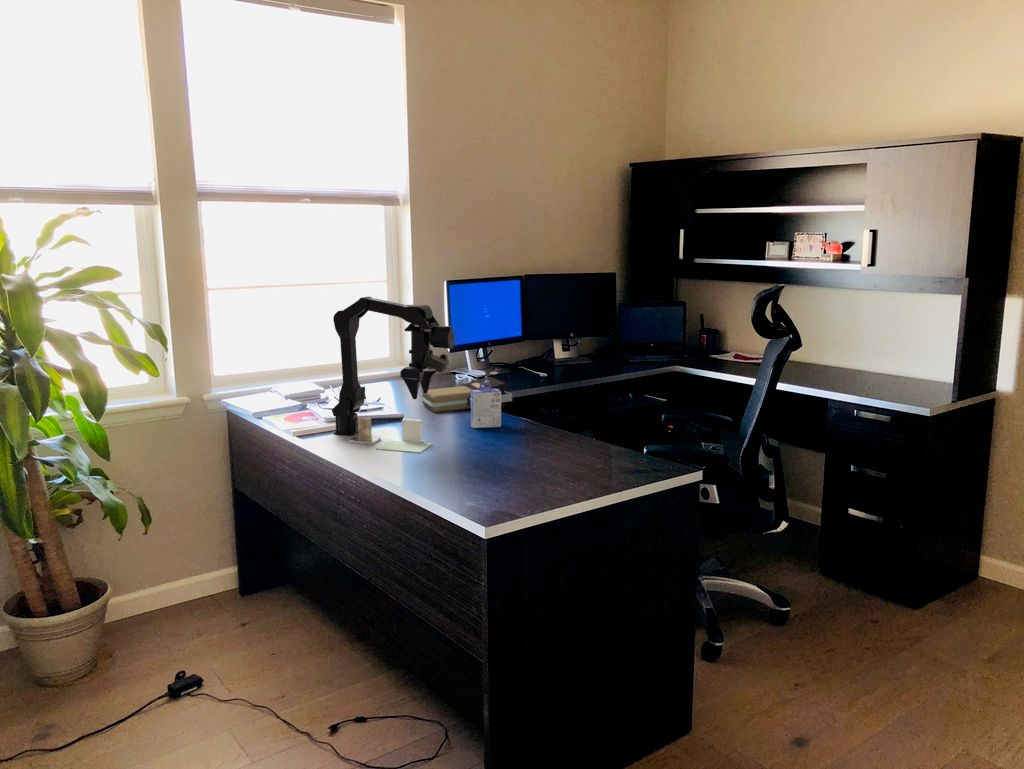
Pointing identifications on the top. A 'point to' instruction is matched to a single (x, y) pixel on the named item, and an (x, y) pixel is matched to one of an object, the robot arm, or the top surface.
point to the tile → (412, 430)
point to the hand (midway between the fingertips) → (420, 396)
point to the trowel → (364, 433)
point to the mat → (404, 446)
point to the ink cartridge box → (485, 407)
